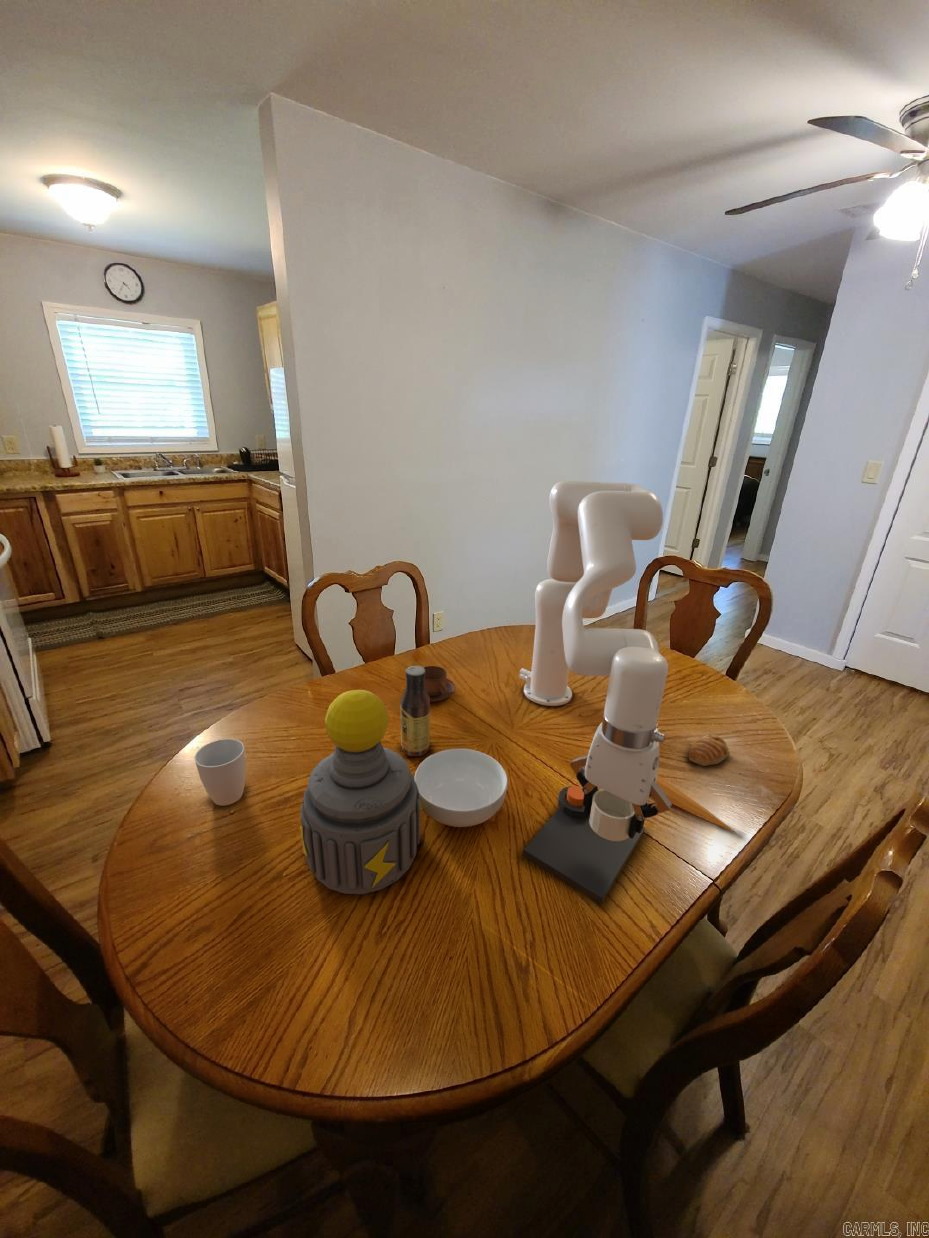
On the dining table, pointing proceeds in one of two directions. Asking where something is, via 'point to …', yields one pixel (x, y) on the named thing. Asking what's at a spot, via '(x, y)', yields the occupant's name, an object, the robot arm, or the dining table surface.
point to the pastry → (708, 750)
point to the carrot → (687, 803)
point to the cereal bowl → (461, 787)
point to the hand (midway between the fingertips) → (611, 820)
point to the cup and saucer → (437, 683)
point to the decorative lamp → (360, 802)
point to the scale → (579, 851)
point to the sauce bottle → (415, 713)
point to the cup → (222, 770)
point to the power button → (575, 796)
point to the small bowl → (610, 816)
